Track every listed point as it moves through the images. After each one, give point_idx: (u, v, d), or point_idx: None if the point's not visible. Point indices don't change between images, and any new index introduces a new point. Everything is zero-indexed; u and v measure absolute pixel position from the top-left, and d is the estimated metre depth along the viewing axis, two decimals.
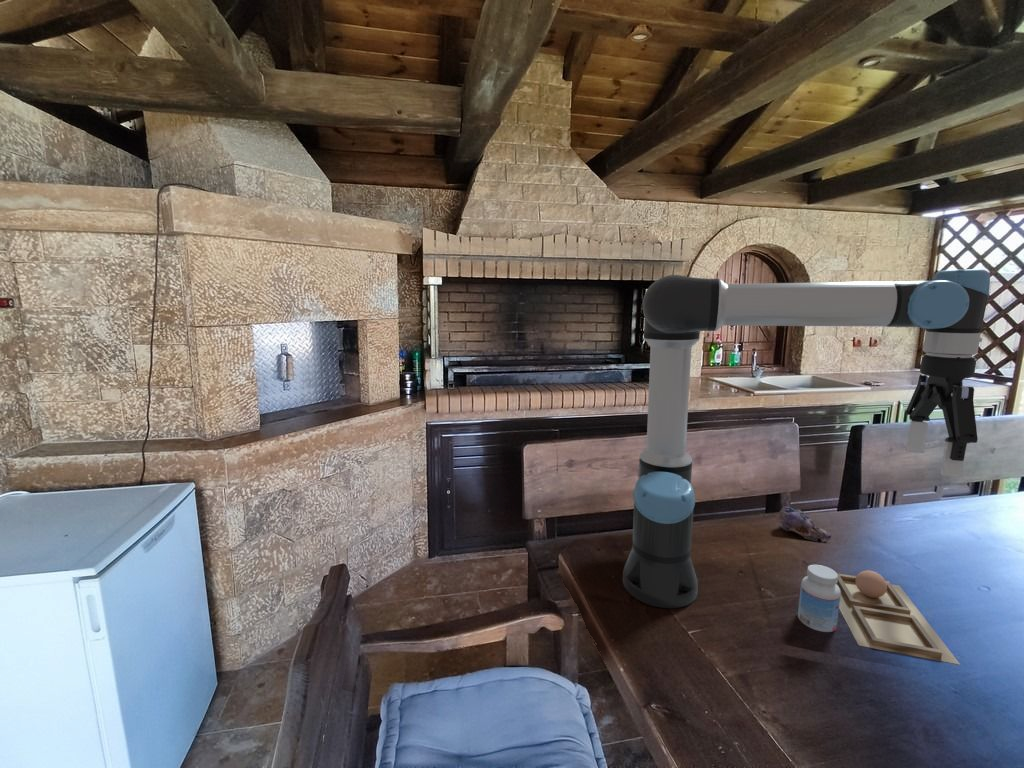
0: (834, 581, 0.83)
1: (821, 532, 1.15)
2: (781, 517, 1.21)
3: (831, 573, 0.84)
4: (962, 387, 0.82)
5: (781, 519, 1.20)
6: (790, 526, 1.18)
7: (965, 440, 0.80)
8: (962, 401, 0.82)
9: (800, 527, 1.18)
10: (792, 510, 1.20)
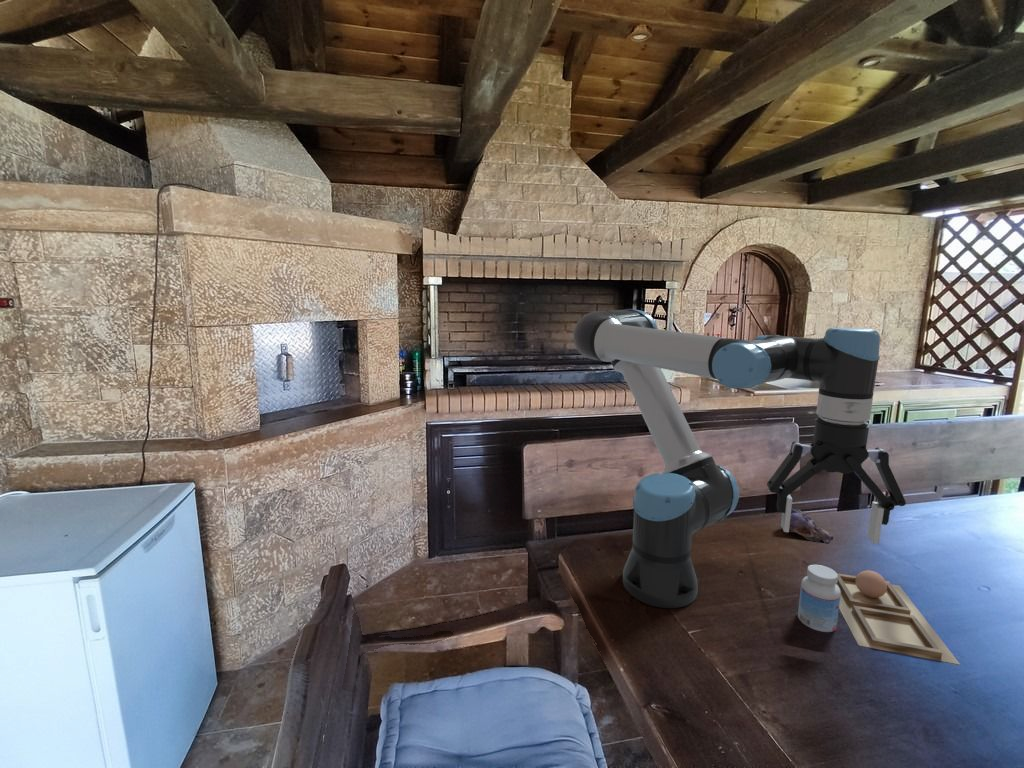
0: (834, 581, 0.83)
1: (823, 533, 1.14)
2: None
3: (831, 573, 0.84)
4: (795, 443, 0.83)
5: None
6: (792, 527, 1.18)
7: (768, 486, 0.85)
8: (789, 455, 0.83)
9: (802, 528, 1.17)
10: (794, 511, 1.20)
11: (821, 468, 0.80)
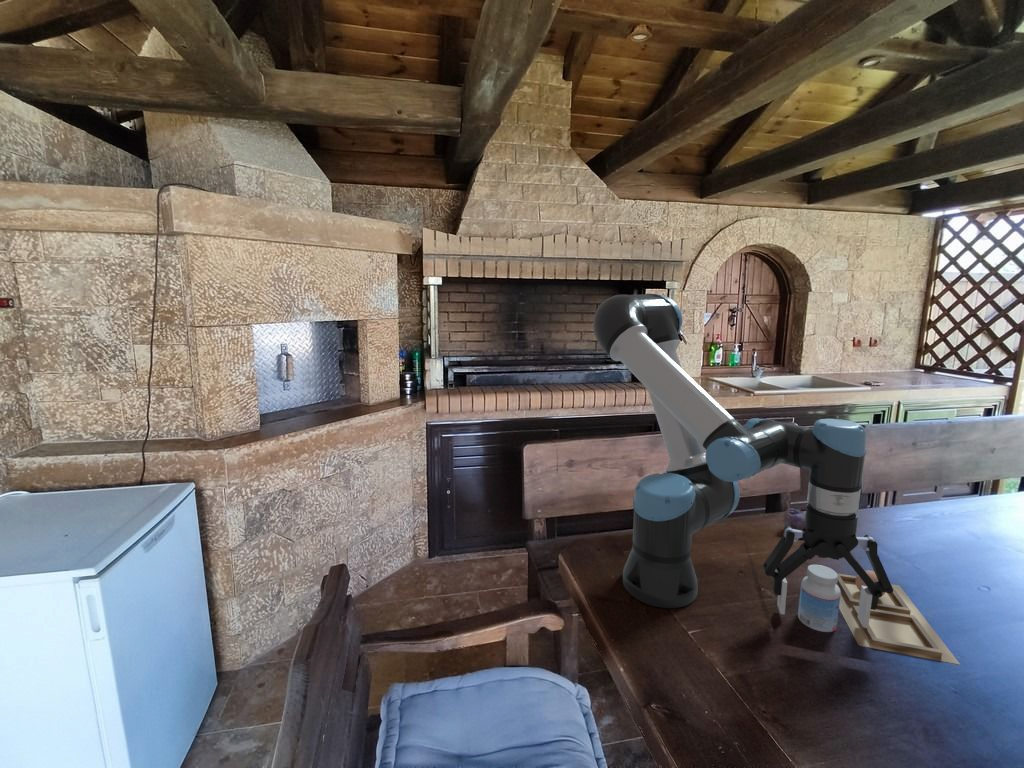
0: (834, 581, 0.83)
1: None
2: (786, 519, 1.20)
3: (831, 573, 0.84)
4: (787, 528, 0.86)
5: (786, 521, 1.19)
6: (794, 528, 1.17)
7: None
8: (782, 540, 0.86)
9: None
10: (797, 512, 1.19)
11: (813, 554, 0.83)
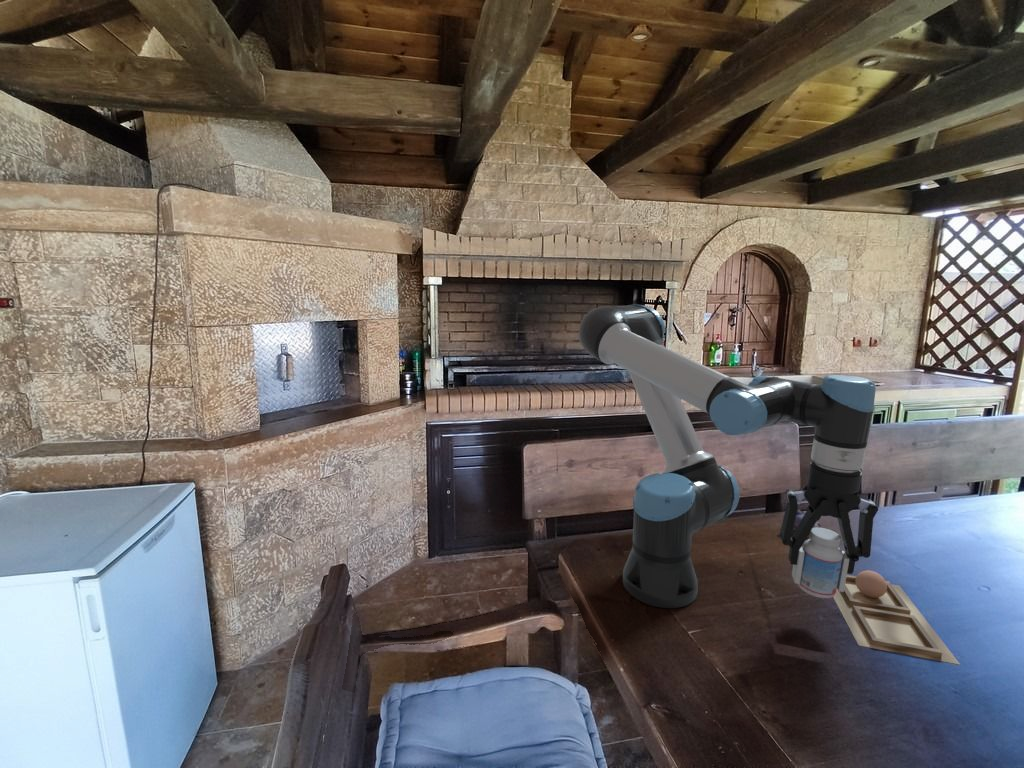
0: (837, 543, 0.82)
1: None
2: None
3: (834, 536, 0.83)
4: (787, 492, 0.85)
5: None
6: None
7: None
8: (787, 505, 0.85)
9: None
10: (799, 513, 1.19)
11: (819, 514, 0.82)
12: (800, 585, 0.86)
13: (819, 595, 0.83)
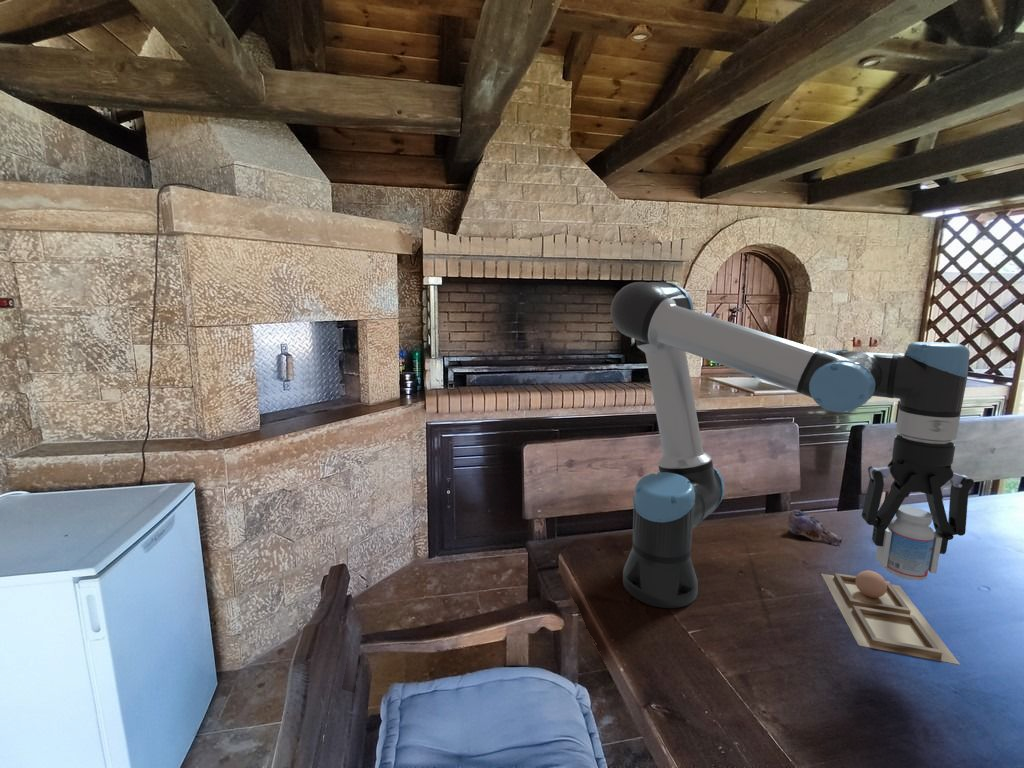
0: (929, 520, 0.77)
1: (832, 536, 1.13)
2: (791, 521, 1.18)
3: (924, 513, 0.78)
4: (871, 469, 0.80)
5: (791, 523, 1.18)
6: (800, 530, 1.16)
7: (863, 518, 0.82)
8: (871, 482, 0.80)
9: (810, 531, 1.16)
10: (802, 514, 1.18)
11: (908, 490, 0.77)
12: (887, 567, 0.81)
13: (910, 577, 0.78)
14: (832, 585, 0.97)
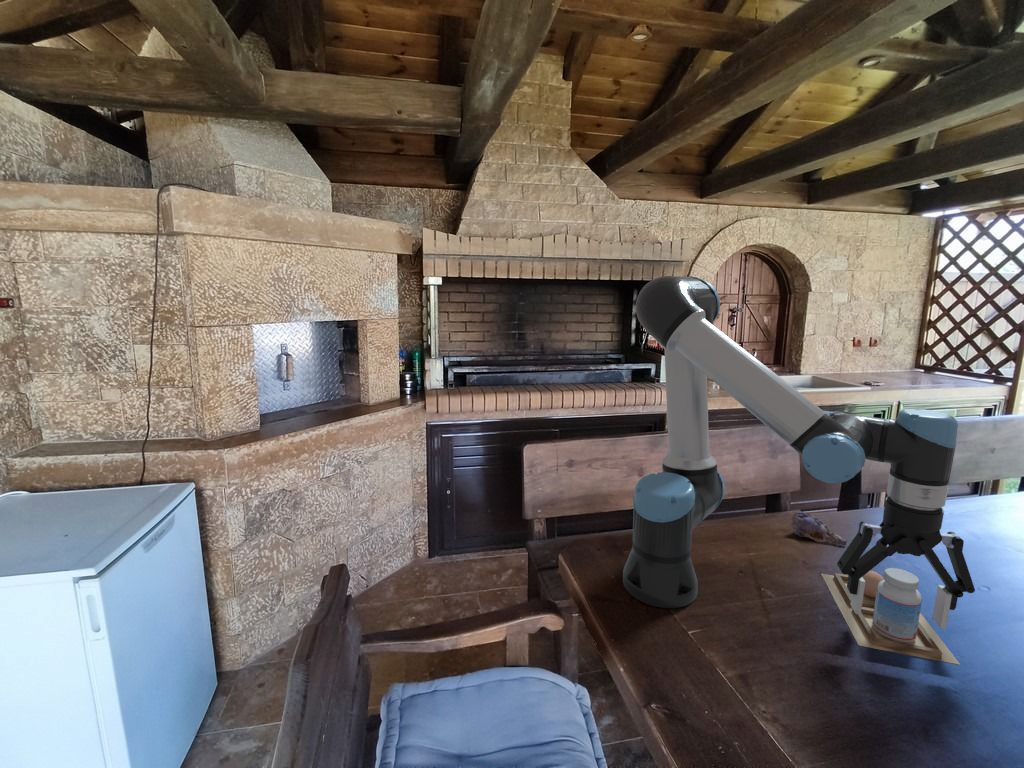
0: (916, 586, 0.79)
1: (836, 538, 1.12)
2: (794, 523, 1.18)
3: (911, 577, 0.81)
4: (863, 524, 0.82)
5: (795, 525, 1.17)
6: (804, 532, 1.15)
7: (838, 566, 0.84)
8: (858, 536, 0.82)
9: (815, 533, 1.15)
10: (805, 515, 1.17)
11: (894, 551, 0.79)
12: (877, 629, 0.83)
13: (899, 640, 0.80)
14: (832, 585, 0.97)
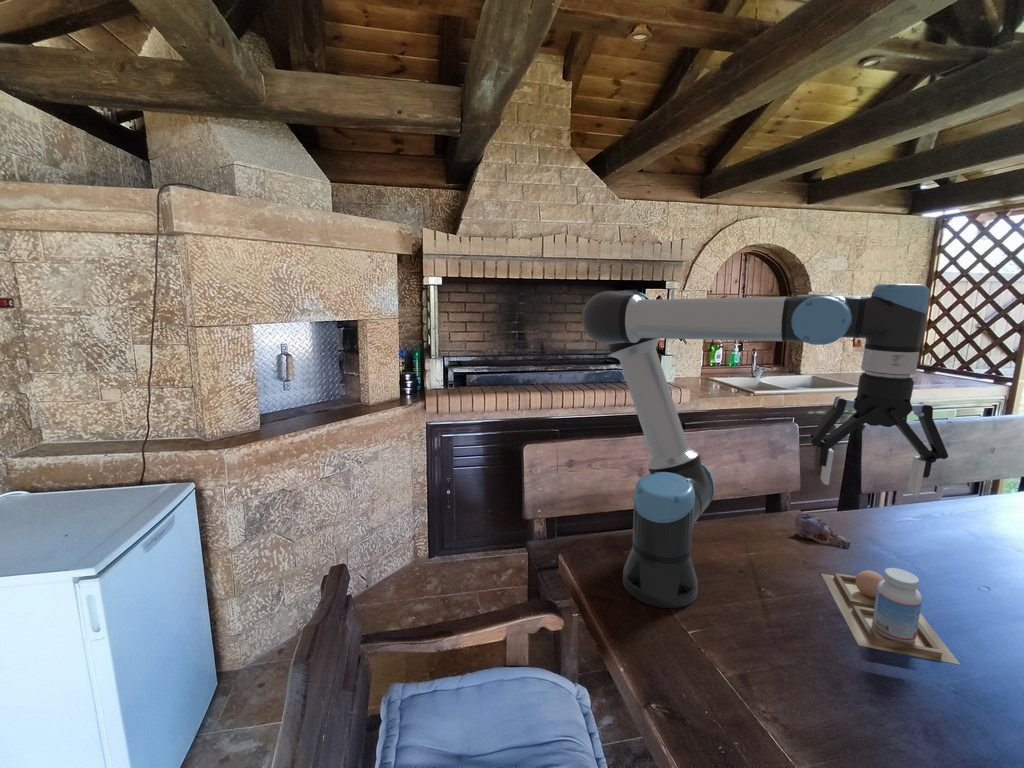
0: (916, 585, 0.79)
1: (840, 539, 1.12)
2: (798, 524, 1.17)
3: (911, 577, 0.81)
4: (838, 397, 0.85)
5: (798, 526, 1.17)
6: (807, 533, 1.15)
7: (809, 440, 0.88)
8: (832, 410, 0.86)
9: (818, 534, 1.14)
10: (809, 516, 1.17)
11: (864, 421, 0.83)
12: (877, 629, 0.83)
13: (899, 640, 0.80)
14: (832, 585, 0.97)
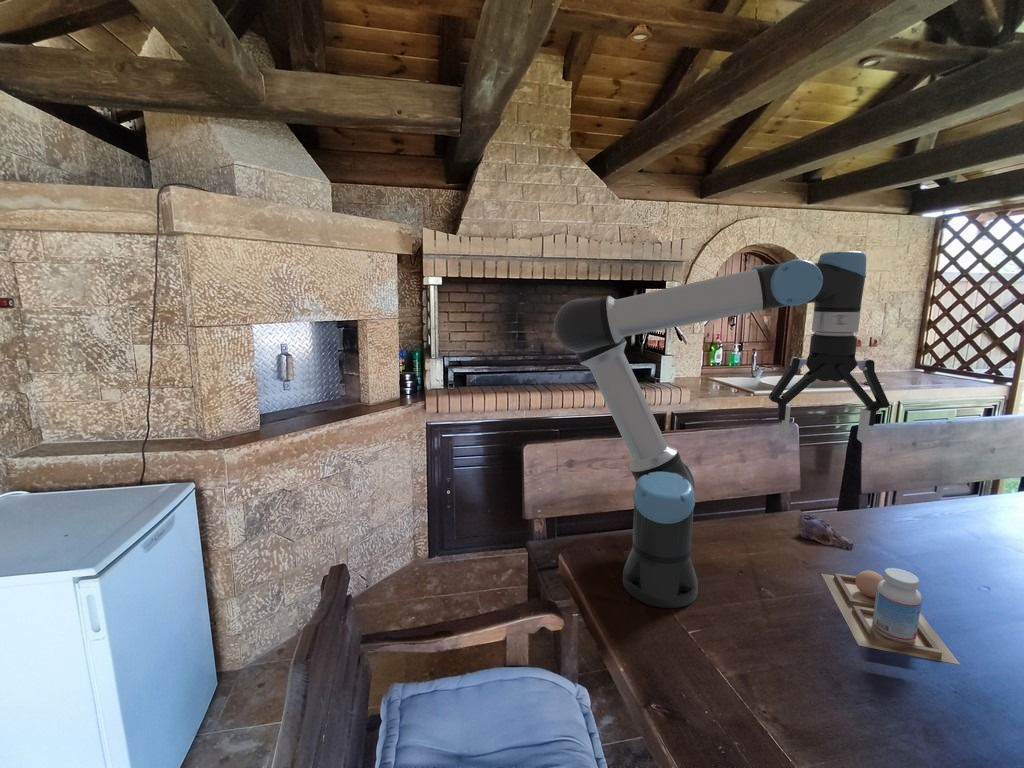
0: (916, 585, 0.79)
1: (843, 540, 1.11)
2: (800, 525, 1.16)
3: (911, 577, 0.81)
4: (793, 357, 0.94)
5: (801, 527, 1.16)
6: (810, 535, 1.14)
7: (769, 398, 0.97)
8: (788, 369, 0.95)
9: (821, 535, 1.14)
10: (812, 517, 1.16)
11: (816, 377, 0.92)
12: (877, 629, 0.83)
13: (899, 640, 0.80)
14: (832, 585, 0.97)
